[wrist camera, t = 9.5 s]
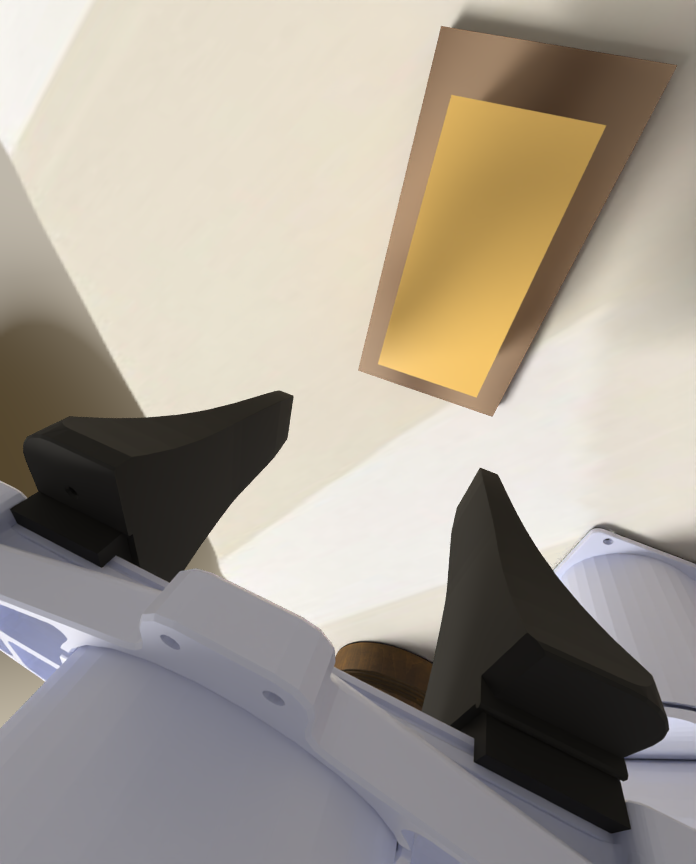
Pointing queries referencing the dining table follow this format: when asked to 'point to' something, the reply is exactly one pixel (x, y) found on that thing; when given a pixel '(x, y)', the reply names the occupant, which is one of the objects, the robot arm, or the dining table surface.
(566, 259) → the pin plate
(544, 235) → the block
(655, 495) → the dining table surface
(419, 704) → the wooden container
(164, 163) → the dining table surface
